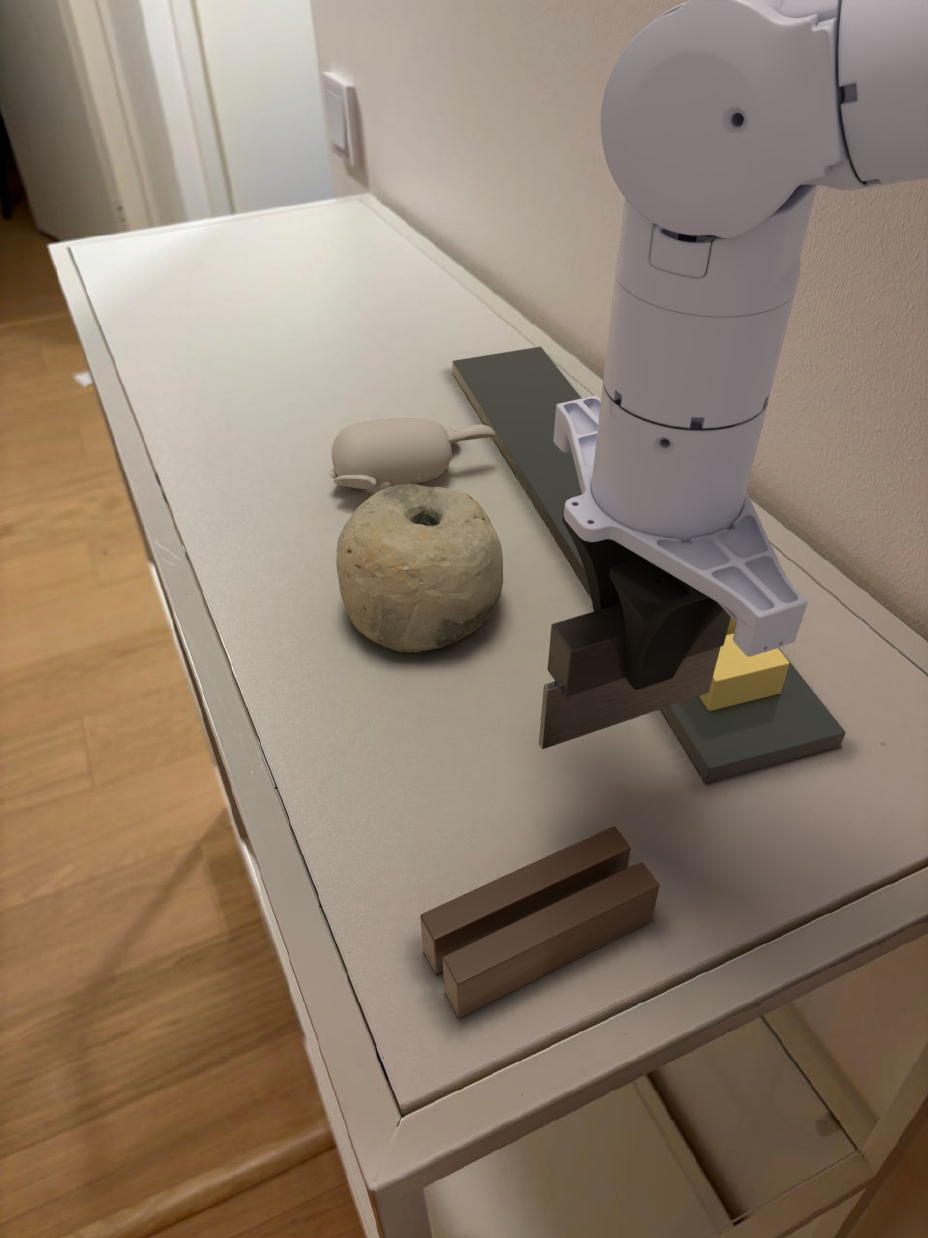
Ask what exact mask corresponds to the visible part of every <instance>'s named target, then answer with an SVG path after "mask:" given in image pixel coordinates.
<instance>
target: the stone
mask: <svg viewBox="0 0 928 1238" xmlns="http://www.w3.org/2000/svg"><path fill="white" fill-rule="evenodd" d="M335 562H336V573H337V578H338V587H339V592H340V596H341V599H342V603H343V606H344V609H345V612H346V615H347V616H348V618H349V620H350V622H351V623H352V625H353V626H354V627H355V628H356V630H357V631H358V632H359V633H360V634H362V635H363V636H364V637H366V638H367V639H369V640H370V641H372V642H373V643H376V644H378V645H381V646H382V647H385V648H387V649H390V650H393V651H395V652H399V653H402V652H403V653H412V652H414V653H415V654H416V653H420V652H423V651H424V652H425V651H434V650H438V649H441V648H444V647H445V646H449V645H451V644H454V643H456V642H458V641H460V640H461V639H464V638H465V637H467V636H469V635H470V634H472V633H473V632H475V631H476V630H477V629H479V628H480V627H481V626H482V625H483V623H484V622H485V621H486V620H487V619H488V618H489V617H490V616H491V614H492V613H493V612H494V610H495V609H496V606H497V605H498V602H499V600H500V598H501V595H502V590H503V585H504V555H503V548H502V543H501V540H500V538H499V536H498V532H497V531H496V529H495V528H494V525H493V524H492V520H491V519H490V517H489V515H488V514H487V512H486V511H485V510H484V508H483V507H482V505H481V504H480V503H479V501H477V500H476V499H474V498H473V497H472V496H470V494H469V493H466V492H462V491H460V490H452V489H450V488H448V487H447V488H446V487H442V486H426V485H420V484H418V483H416V484H403V485H397V486H392V487H388V488H385V489H383V490H381V491H379V492H377V493H375V494H371V495H370V496H369V497H368V498H366V499H365V500H364V501H363V502H362V503H361V504H360V505H359V506H358V507H357V508H356V509H355V511H354V512H353V513H352V514H351V515H350V517H349V518H348V519H347V520H346V522H345V523H344V525H343V527H342V530H341V531H340V534H339V536H338V538H337V545H336V560H335Z"/></svg>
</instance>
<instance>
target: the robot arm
mask: <svg viewBox="0 0 928 1238" xmlns="http://www.w3.org/2000/svg"><path fill="white" fill-rule="evenodd" d="M600 111H601V112H600V136H601V144H602V150H603V154H604V159H605V161H606V165H607V167H608V169H609V172H610V175H611V177H612V179H613V181H614V183H615V185H616V187H617V188H618V190H619V192H620V193H621V194H622V196H623V197H624V200H623V201H624V202H623V209H622V210H623V211H622V220H621V227H620V236H619V243H618V244H619V245H618V250H617V253H616V254H617V255H616V256H617V257H616V263H615V274H614V282H613V292H612V299H611V307H610V315H609V324H608V334H607V340H606V341H607V342H606V352H605V359H604V367H603V377H602V388H601V396H600V397H599V396H598V395H596V394H595V395H591V396H587V397H581V398H582V399H577V400H573V401H568V402H564V403H560V404H557V405H556V414H555V427H554V439H553V442H554V443H555V444H556V445H557V446H558V447H559V449H560V450H561V451H563V452H565V453H571V452H572V455H573V459H574V463H575V467H576V471H577V476H578V480H579V484H580V488H581V492H582V495H580V496H576V497H573V498H571V499H568V500H567V501H566V503H565V507H564V512H563V519H562V521H563V523H564V525H565V527H566V529H567V530H568V532H569V534H570V536H571V538H572V540H573V542H574V544H575V546H576V548H577V551H578V553H579V556H580V558H581V561H582V564H583V567H584V570H585V573H586V577H587V581H588V585H589V589H590V594H591V596H590V598H591V604H592V605H591V606H592V612H594V611H597V610H600V609H604V608H607V607H610V606H614V605H617V604H620V603H621V604H622V608H623V613H624V620H625V652H624V664H625V673H626V679H627V681H628V682H629V684H630V685H631V686H632V688H633V689H635V690H639V689H642V688H645V687H648V686H651V685H654V684H657V683H660V682H663V681H666V680H669V679H672V678H673V677H674V675H675V673H676V672H677V670H678V668H679V667H680V665H681V663H682V662H683V660H684V658H685V657H686V655H687V654H688V652H689V651H690V649H691V648H692V646H693V645H694V643H695V642H696V640H697V639H698V638H699V636H700V635H701V634H702V633H703V631H704V630H705V629H706V628H707V627H708V626H709V624H710V623H711V622H712V621H713V620H714V619H715V618H716V617H717V616H718V615H719V614H720V613H721V612H723V611H724V610H725V611H726V612H727V613H728V614H729V615H730V616H731V617H732V619H733V620H734V621H735V622H736V628H735V632H734V636H733V641H734V643H735V644H736V645H737V646H738V647H739V648H740V649H741V650H742V651H743V653H744V654H745V655H746V656H747V657H751V656H754V655H757V654H760V653H763V652H764V653H765V652H767V651H770V650H773V649H776V648H781V647H785V646H787V645H789V644H792V643H793V644H794V643H795V642H796V639H797V635H798V633H799V630H800V627H801V624H802V621H803V618H804V615H805V612H806V609H807V606H808V603H809V602H808V600H807V599H806V598H805V597H804V596H803V595H802V594H801V592H800V591H799V590H798V589H797V588H796V587H795V586H794V585H793V583H792V582H791V581H790V579H789V578H788V576H787V574H786V572H785V570H784V569H783V567H782V565H781V563H780V561H779V558H778V556H777V554H776V552H775V549H774V547H773V546H772V544H771V541H770V538H769V537H768V534H767V533H766V530H765V528H764V526H763V524H762V521H761V519H760V517H759V515H758V513H757V511H756V508H755V506H754V504H753V502H752V500H751V497H750V495H749V493H748V486H749V483H750V478H751V475H752V470H753V467H754V461H755V458H756V455H757V450H758V444H759V441H760V438H761V433H762V430H763V427H764V426H763V425H764V422H765V417H766V413H767V409H768V405H769V400H770V396H771V392H772V389H773V385H774V382H775V381H774V380H775V376H776V373H777V370H778V369H777V368H778V366H779V365H778V364H779V360H780V356H781V353H782V348H783V345H784V341H785V337H786V332H787V329H788V324H789V321H790V316H791V312H792V307H793V305H794V300H795V296H796V292H797V287H798V285H799V284H798V283H799V279H800V276H801V266H802V264H801V263H802V262H801V256H802V252H803V248H804V244H805V239H806V235H807V231H808V226H809V223H810V218H811V215H812V210H813V206H814V203H815V199H816V194H817V190H818V186H821V187H826V188H831V189H834V190H835V189H836V190H842V191H858V190H863V189H869V188H876V187H883V186H888V185H889V186H890V185H895V184H900V183H906V182H907V183H908V182H913V181H919V180H926V179H928V0H686V1H684V2H682V3H680V4H678V5H676V6H673V7H672V8H670V9H667V10H666V11H665V12H663V13H661V14H660V15H659V16H657V17H656V18H654V19H653V21H651V22H650V23H649V24H648V25H646V26H645V27H644V28H642V30H640V31H639V32H638V33H637V34H636V35H635V36H634V37H633V38H632V39H631V40H630V42H629V43H628V44H627V45H626V46H625V48H624V49H623V51H621V53H620V55H619V57H618V58H617V60H616V62H615V64H614V65H613V67H612V70H611V72H610V74H609V76H608V80H607V83H606V85H605V89H604V93H603V97H602V104H601V110H600Z"/></svg>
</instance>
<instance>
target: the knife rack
mask: <svg viewBox="0 0 928 1238" xmlns="http://www.w3.org/2000/svg"><path fill="white" fill-rule="evenodd" d="M631 849H632V847H631V845H630V843H629V842H628V841H627V839H626V838H625V836H624V835H623V833H621V831H620V830H619V829H618V827H617V826H616V825H612V826H609V827H608V828H605V829H604V830H601V831H599V832H596V833H594V834H593V835H590V836H587V837H586V838H584V839H581V840H580V841H577V842H575V843H573V844H571V845H569V846H566V847H564V848H562V849H560V850H558V851H555V852H552V854H549V855H547V856H545V857H542V858H540V859H538V860H536V861H534V862H532V863H530V864H527V865H525V866H523V867H520V868H519V869H516V870H514V871H512V872H509V873H508V874H506V875H504V876H501V877H499V878H497V879H495V880H493V881H491V882H488V883H486V884H484V885H482V886H479V887H477V888H475V889H473V890H471V891H468V892H467V893H464V894H462V895H460V896H458V897H456V898H453V899H451V900H449V901H447V902H445V903H442V904H440V905H438V906H436V907H434V908H432V909H429V910H428V911H427V910H426V911H425V912H423V913H421V914H420V915H419V918H420V919H419V920H420V930H421V942H422V943H421V944H422V951H423V953H424V955H425V957H426V959H427V961H428V963H429V964H430V967H431V969H432V970H433V972H434V974H435V975H438V974H441V973H442V974H443V989H444V990H443V991H444V994H445V995H446V997H447V999H448V1001H449V1003H450V1005H451V1007H452V1009H453V1011H454V1013H455V1015H456V1016H457V1018H458V1019H460V1018H462V1017H465V1016H466V1015H468V1014H470V1013H472V1012H474V1011H476V1010H478V1009H480V1008H483V1007H484V1006H486V1005H488V1004H490V1003H493V1002H494V1001H496V1000H498V999H500V998H502V997H504V996H506V995H508V994H510V993H511V992H512V993H513V992H514V991H516V990H518V989H519V988H522V987H524V986H525V985H528V984H529V983H532V982H534V981H535V980H537V979H539V978H542V977H543V976H545V975H547V974H549V973H551V972H553V971H555V970H558V969H559V968H561V967H563V966H566V965H567V964H569V963H571V962H574V961H575V960H577V959H579V958H581V957H583V956H585V955H587V954H589V953H591V952H593V951H595V950H597V949H599V948H601V947H602V946H605V945H606V944H609V943H610V942H613V941H615V940H617V939H618V938H621V937H622V936H624V935H626V934H628V933H631V932H632V931H634V930H636V929H638V928H640V927H642V926H644V925H646V924H648V923H650V922H652V921H653V918H654V914H655V910H656V906H657V905H656V904H657V901H658V894H659V892H660V886H661V884H660V883H659V881H658V880H657V878H656V877H655V876H654V875H653V874H652V872H651V871H650V869H649V868H648V867H647V865H646V864H645V863H644V862H643V861H640V862H638V863H635V864H633V865H631V866H629V862H630V857H631V856H630V855H631Z"/></svg>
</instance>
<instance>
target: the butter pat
mask: <svg viewBox="0 0 928 1238" xmlns="http://www.w3.org/2000/svg"><path fill="white" fill-rule="evenodd" d="M733 636H734V634H730V635H726V639H725V643H724V645H723V646H722V647H721V648H720V652H719V656H718V659H717V663H716V667H715V671H714V675H713V678H712V682H711V686H710V690H709V693H706V694H704V695H701V696H699V697H700V699H701V700H702V702H703V703H704V705H705V706H706V708H707V709H708V711H713V710H717V709H721V708H725V707H729V706H733V705H737V704H741V703H745V702H749V701H753V700H757V699H761V698H764V697H768V696H772V695H776V694H780V693H781V691H782V687H783V684H784V681H785V677H786V674H787V671H788V667H789V664H790V663H789V661H790V660H789V659H788V658H787V659H788V660H789V661H788V660H787V659H786V658H785V656H786V655H785V654H784V653H783V654H784V655H785V656H784V655H783V654H782V652H783V651H782V650H781V649H780V650H781V651H782V652H781V651H780V650H779V649H778V648H776V649H773V650H770V651H767V652H765V653H764V652H763V653H760V654H757V655H754V656H751V657H747V656H746V655H745V654H744V653H743V651H742V650H741V649H740V648H739V647H738V646H737V645H736V644H735V643H734V641H733Z"/></svg>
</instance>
